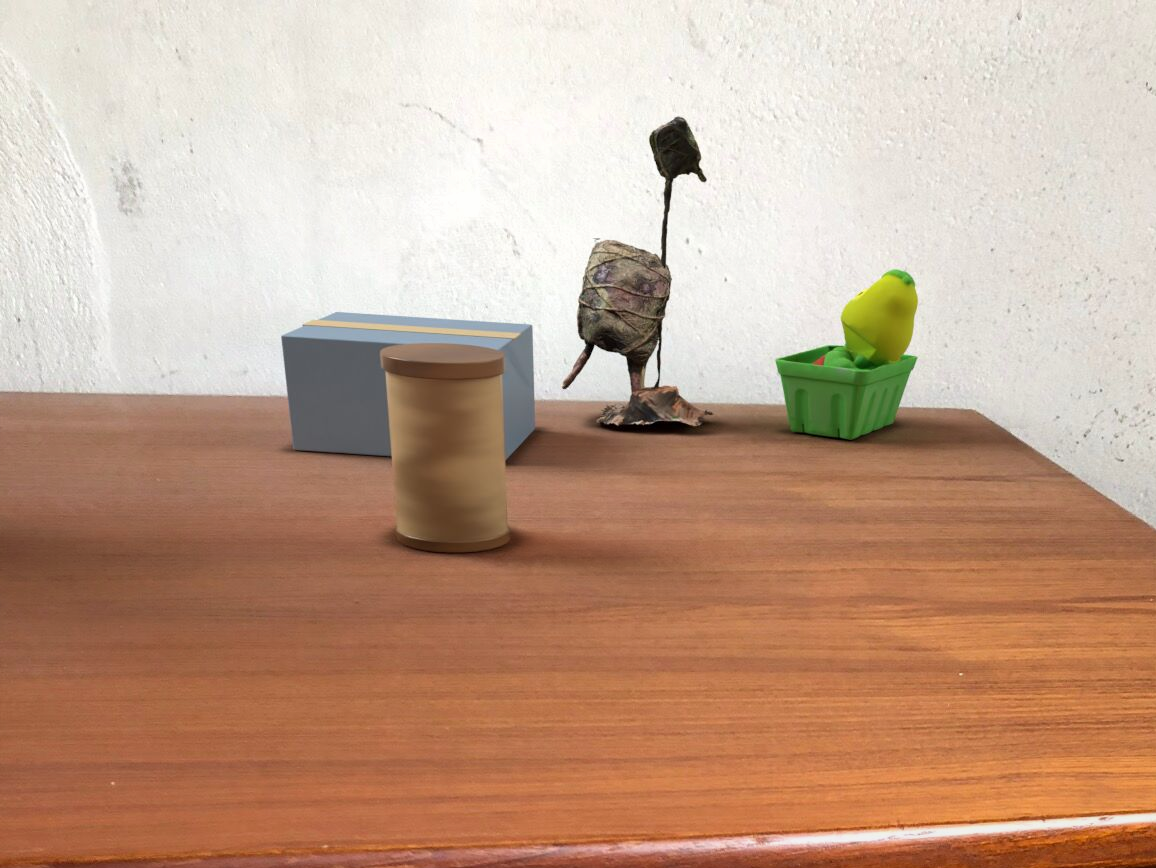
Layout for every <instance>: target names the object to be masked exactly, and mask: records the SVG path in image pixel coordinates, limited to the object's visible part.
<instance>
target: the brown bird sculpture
mask: <svg viewBox="0 0 1156 868" xmlns="http://www.w3.org/2000/svg"><path fill="white" fill-rule="evenodd" d="M648 142H649V146H650V149H651V152H652V156H653V161H654V162H655V163H654V164H655V165H656V170H657V171H658V174H659V176H660V177H663V178H664V181H665V182H664V189H663V193H662V194H663V204H664V205H663V206H664V209H663V218H662V223H661V236H660V245H661V246H660V250H661V255H660V256H659V255H658V254H657V253H652V252H650V251H648V250H646V249H642V248H638V247H636V246H633V245H630V244H627V243H624V242H621V241H618V240H616V239H604V240H601V238H599V237H598V238H593V237H592V239H594V240H596V241H597V242H595V244H594V246H593V247H592V249H591V252H590V255H589V257H588V261H587V265H586V267H585V269H584V275H583V277H582V284H581V285H582V286H581V292H580V293H579V296H578V299H577V301H578V305H577V311H576V327H577V334H578V337H579V339H580V340H582V341H584V345H585V346H584V349H583V350H582V352H581V353H580V354H579V356H578V358H577V359H576V361H575V363H574V364H573V366H572V369H571V371H570V372H569V373H568V375H567V376H566V377H565V378H564V380H563V381H562V385H561V389H562V390H567V389H568V388H570V386H571V385H572V384H573V382H574V381H575V380H576V378H577V376H579V374H580V373H581V372H582V370H583V369H584V367H585V366H586V365H587V363H588V360H589V359H591V355H592V353H593V351H594V349H595V347H597V348H599V349H600V350H603V351H605V352H608V353H616V354H619V355H621V357H622V356H623V357H625V358H626V365H627V371H628V374H629V380H630V381H629V382H630V390H631V394H630V396H629V400H628V402H627V404H621V403H620V402H618V404H614V405H607V404H606V407H604V408H603V409H601V411H602V412H600V416H599V418H598V419H597V420H596V421H595V423H596V424H597V423H598V424H602V423H603V424H604V425H610V424H614V425H616V426H624V427H626V426H629V425H635V424H636V425H642V426H644V425H651V424H654V423H656V422H658V421H659V422H660V421H661V422H663V421H664V422H678V423H679V422H680V423H683V424H686V425H689V426H693V427H698V426H700V425H702V424H703V422H701V421H706V419H705V418H704V417H706V416H714V415H715V413H714V412H713V411H708V409H706V410H705V411H704V410H702V409H700V408H698V407H696V406H694V405H693V404H691V403H690V402H689V401H687V400H686V399H685V398H684V397H683V396H681V395H680V391H679V388H678V387H677V386H676V385H675V386H674V385H673V386H671V385H662V386H660V381H661V366H662V365H661V364H662V360H661V353H662V341H663V337H662V336H663V335H662V333H663V320H664V319H665V317H666V308H667V304H668V302H669V301H670V295H671V288H672V287H671V286H672V282H673V281H672V280H673V278H672V275H671V271H670V267H669V265H668V264H667V237H668V222H669V221H668V219H669V214H670V213H669V212H670V210H671V200H672V191H673V182H674V179H677V178H678V177H679V176H682V175H687V176H690V174H694V175H697V177H698V178H697V179H698V180H699V181H700V182H701V183H706V182H707V180H708V179H707V177H706V176H705V174H704V173H703V169H702V168H701V166H700V162H701V161H702V154H701V150H700V147H699V144H698V142H697V139H696V138H695V135H694V133H693V131H692V129H691V127H690V125H689V122H688V121H687V120H686V119H685V118H684V117H682V116H680V115H678V116H675V117H674V118H673V119H671V120H670V121H668V122H666V123H665V124H661V125H659V126H658V127H657V128H656V129H653V130H652V131H651V133H650V135H649V139H648ZM599 240H601V241H599ZM598 241H599V242H598ZM657 346H658V348H657ZM656 348H657V351H656V367H657V368H656V369H657V380H656V382H655V384H654V386H645V379H646V371H647V366H648V365H647V364H648V363H649V359H650V358H651V357H652V355H653V354H654V352H655V350H656Z"/></svg>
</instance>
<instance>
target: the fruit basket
mask: <svg viewBox="0 0 1156 868" xmlns="http://www.w3.org/2000/svg"><path fill="white" fill-rule="evenodd" d="M918 305H919V296H918V293H917V290H916V281H915V280H914V278H913V277H912V275H911V274H910V273H908V272H907V271H905V270H901V269H898V268H894V269H891V270H888V271H886V272H885V273H884V274H883V275H882V276H881V278H879V279H878V280H877V281H875V282H874V283H873V284H871V285H870V286H869V287H868V288H865V289H864V290H862V291H860V292H858V293H857V294H856V295H855V296H854V298H853V299H851V300H849V301H848V302H847V303H846V304H845V306H844V307H843V309H842V312H841V315H840V321H841V326H842V329H843V335H844V341H845V343H844V345H835V344H828V345H827V344H826V345H823V346H820V347H816V348H811V349H809V350H804V351H799V352H797V353H794V354H789V355H786V356H783V357H778V358H775V365H776V368H777V369H776V370H777V373H778V375H779V376H780V380H781V381H780V382H781V386H782V390H783V391H782V392H783V396H784V402H785V407H786V412H787V418H788V423H789V429H790V431H791V432H794V433H805V434H808V435H815V436H822V437H828V438H829V437H830V438H836V439H837V438H840V439H845V440H849V441H852V440H854V439H856V438H859V437H860V436H864V435H867V434H870V433H871V432H873V431H874V432H875V431H878V430H880V429H882V428H884V427H887V426H890V425H892V424H893V423H894V421H895V419H896V416H897V413H898V410H899V407H900V405H901V401H902V399H903V395H904V393H905V389H906V387H907V385H908V381H909V378H910V375H911V373H912V371H913V370H914V368H915V366H916V363H917V360H918V358H919V357H918V356H917V355H910V354H906V352H907V350H908V349H909V346H910V344H911V343H912V342H911V341H912V338H913V334H914V329H915V328H914V326H915V316H916V313H917V309H918Z"/></svg>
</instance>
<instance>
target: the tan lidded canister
mask: <svg viewBox="0 0 1156 868" xmlns="http://www.w3.org/2000/svg"><path fill="white" fill-rule="evenodd" d="M380 361H381V368H382V369H383V370H385V375H386V388H387V401H388V414H389V427H390V440H391V453H392V456H391V464H392V466H391V467H392V478H393V490H394V491H393V492H394V505H395V517H396V525H395V527H394V529H395V538H396V540H397V542H398V543H400V544H402V545H403V546H406V547H408V548H412V549H416V550H420V551H425V552H434V553H445V554H448V553H449V554H450V553H451V554H457V553H458V554H461V553H477V552H484V551H488V550H493V549H496V548H500V547H502V546H505V545H507V544H508V543H509V541H510V539H511V531H510V529H511V528H510V526H509V524H508V523H509V521H508V503H507V502H508V500H507V499H508V498H507V497H508V495H507V472H506V471H507V470H506V461H505V442H504V415H503V389H502V374H503V373H504V372H505V370H506V367H505V354H504V353H502V352H501V351H498V350H495V349H491V348H487V347H481V346H474V345H464V344H449V343H415V344H402V345H395V346H390V347H386V348H384V349H382V350H381V351H380Z"/></svg>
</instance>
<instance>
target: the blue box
mask: <svg viewBox="0 0 1156 868" xmlns="http://www.w3.org/2000/svg"><path fill="white" fill-rule="evenodd" d="M533 330H534V329H533V325H532V324H529V323H513V322H500V321H499V322H497V321H481V320H468V319H467V320H465V319H453V318H452V319H451V318H437V317H421V316H406V315H405V316H403V315H389V314H374V313H373V314H372V313H362V312H361V313H358V312H345V311H344V312H343V311H334V312H333V313H330V314H328V315H325V316H323V317H321V318H319V319H312V320H310V321H306V322H305V323H302V326H301V327H298V328H296V329H293V330H291V331H288V332H286V333H284V334H282V335H280V338H281V339H280V340H281V348H282V356H283V367H284V375H285V376H284V377H285V385H286V393H287V401H288V403H287V404H288V413H289V422H290V430H291V441H292V448H293V449H292V450H294V451H303V452H315V453H317V452H318V453H333V454H348V455H364V456H376V457H377V456H379V457H392V453H391V440H390V427H389V414H388V401H387V388H386V375H385V370H383V369H382V368H381V361H380V351H381V350H382V349H384V348H386V347H390V346H395V345H402V344H415V343H449V344H464V345H474V346H481V347H487V348H491V349H495V350H498V351H501V352H502V353H504V354H505V367H506V370H505V372H504V373H503V374H502V389H503V415H504V442H505V462H506V461H507V460H508V458H510V457H511V455H512V454H513V453H514V452H515V451H517V449H518V448H519V447H520V446H521V445H522V444H523V443H524V441H525V440H526V439H528V437H529V436H530V435H531V434H532V433H533V432H534V431H535V429H536V408H535V407H536V406H535V405H536V404H535V403H536V401H535V367H534V339H533V338H534V335H533V332H534V331H533Z"/></svg>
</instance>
